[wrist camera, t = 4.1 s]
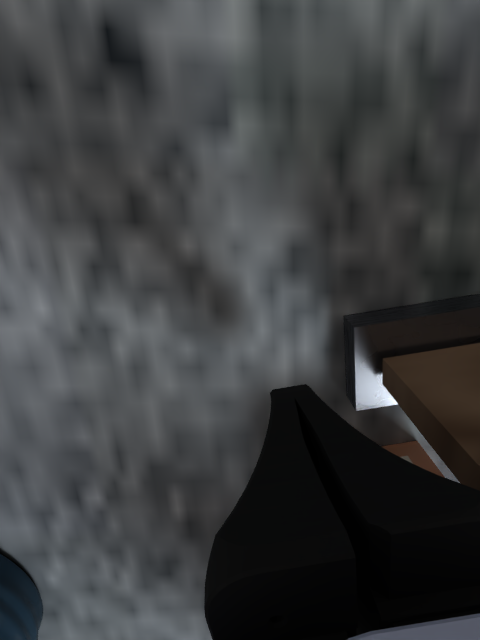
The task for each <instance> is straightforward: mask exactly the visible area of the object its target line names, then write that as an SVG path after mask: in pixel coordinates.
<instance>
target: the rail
mask: <svg viewBox="0 0 480 640" xmlns="http://www.w3.org/2000/svg"><path fill="white" fill-rule="evenodd" d="M344 335H345V363H346V391H347V396H348V398H349V400H350V402H351V403H352V405H353V407H354V408H355V410H356V411H360V410H366V409H372V408H378V407H385V406H391V405H397V404H398V403H397V402H396V401H395V399H394V398H393V397H392V396H391V394H390V393H389V392H388V391H387V389H386V388H385V387H384V385H383V384H382V372H383V358H389V357H395V356H401V355H408V354H414V353H420V352H426V351H432V350H438V349H445V348H451V347H457V346H463V345H469V344H476V343H480V294H477V295H470V296H464V297H458V298H452V299H446V300H439V301H433V302H427V303H421V304H415V305H409V306H402V307H396V308H390V309H384V310H378V311H372V312H365V313H359V314H353V315H347V316H344Z"/></svg>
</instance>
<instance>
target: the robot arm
mask: <svg viewBox="0 0 480 640" xmlns="http://www.w3.org/2000/svg"><path fill="white" fill-rule="evenodd" d="M270 395H271V413H270V419H269V425H268V429H267V433H266V437H265V441H264V445H263V448H262V451H261V454H260V457H259V459H258V462H257V465H256V467H255V469H254V472H253V474H252V476H251V478H250V480H249V482H248V485H247V487H246V488H245V490H244V492H243V494H242V496H241V497H240V499H239V501H238V503H237V504H236V506H235V508H234V509H233V511H232V512H231V514H230V515H229V517H228V518H227V520H226V521H225V523H224V524H223V525H222V527H221V528H220V530H219V531H218V533H217V534H216V536H215V539H214V543H213V546H212V550H211V554H210V558H209V562H208V568H207V574H206V581H205V605H204V608H205V618H206V621H207V624H208V627H209V630H210V633H211V636H212V639H213V640H480V491H479V490H477V489H474V488H471V487H468V486H466V485H463V484H460V483H458V482H455V481H452V480H449V479H447V478H444V477H441V476H439V475H437V474H435V473H432V472H430V471H428V470H425V469H423V468H421V467H419V466H417V465H415V464H412V463H410V462H408V461H406V460H405V459H403V458H401V457H399V456H397V455H395V454H393V453H391V452H390V451H388V450H386V449H384V448H383V447H381V446H379V445H378V444H376V443H375V442H373V441H372V440H370V439H369V438H367V437H366V436H364V435H363V434H362V433H360V432H359V431H358V430H356V429H355V428H354V427H352V426H351V425H350V424H348V423H347V422H346V421H345V420H344V419H342V418H341V417H340V416H339V415H338V414H337V413H335V412H334V411H333V410H332V409H331V408H330V407H329V406H328V405H327V404H326V403H325V402H323V401H322V400H321V399H320V398H319V397H318V396H317V395H316V394H315V392H314V391H313V390H312V389H311V388H310V387H309V386H308V385H306V384H304V385H298V386H292V387H286V388H280V389H274V390H272V391H271V392H270Z"/></svg>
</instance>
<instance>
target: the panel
mask: <svg viewBox="0 0 480 640" xmlns="http://www.w3.org/2000/svg"><path fill="white" fill-rule="evenodd" d="M382 384H383V385H384V387H385V388H386V389H387V391H388V392H389V393H390V394H391V396H392V397H393V398H394V399H395V401H396V402H397V403H398V405H399V406H400V407H401V408H402V410H403V411H404V412H405V413H406V415H407V416H408V417H409V418H410V420H411V421H412V422H413V424H414V425H415V426H416V427H417V429H418V430H419V431H420V432H421V434H422V435H423V436H424V438H425V439H426V440H427V441H428V443H429V444H430V445H431V446H432V448H433V449H434V450H435V451H436V453H437V454H438V455H439V457H440V458H441V459H442V460H443V462H444V463H445V464H446V465H447V467H448V468H449V469H450V471H451V472H452V473H453V474H454V476H455V477H456V478H457V479H458V481H459V482H460V483H461V484H463V485H466V486H468V487H471V488H474V489H477V490H479V491H480V343H476V344H469V345H463V346H457V347H451V348H445V349H438V350H432V351H426V352H420V353H414V354H408V355H401V356H395V357H389V358H383V372H382Z"/></svg>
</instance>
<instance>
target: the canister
mask: <svg viewBox="0 0 480 640" xmlns="http://www.w3.org/2000/svg"><path fill="white" fill-rule="evenodd" d="M42 616H43V605H42V600H41V597H40V594H39V592H38V590H37V588H36V586H35V585H34V583H33V582H32V581H31V579H30V578H29V577H28V576H27V575H26V573H25V572H24V571H23V570H22V569H21V568H19V567H18V566H17V565H16V564H15V563H13V562H12V561H11V560H9V559H8V558H6V557H5V556H3V555H2V554H0V640H38V631H39V627H40V624H41V621H42Z"/></svg>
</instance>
